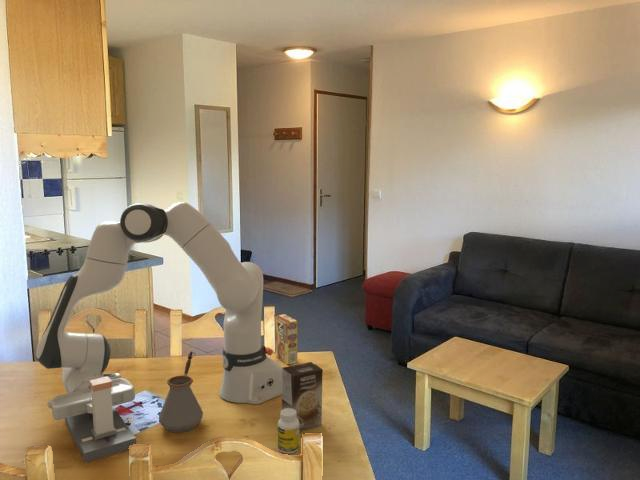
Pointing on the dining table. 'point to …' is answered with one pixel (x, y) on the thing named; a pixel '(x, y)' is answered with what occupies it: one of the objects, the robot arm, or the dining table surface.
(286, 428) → the supplement bottle
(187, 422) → the coffee pot
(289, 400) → the coffee box
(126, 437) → the fader console
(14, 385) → the dining table surface
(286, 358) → the candy box
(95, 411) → the fader knob
